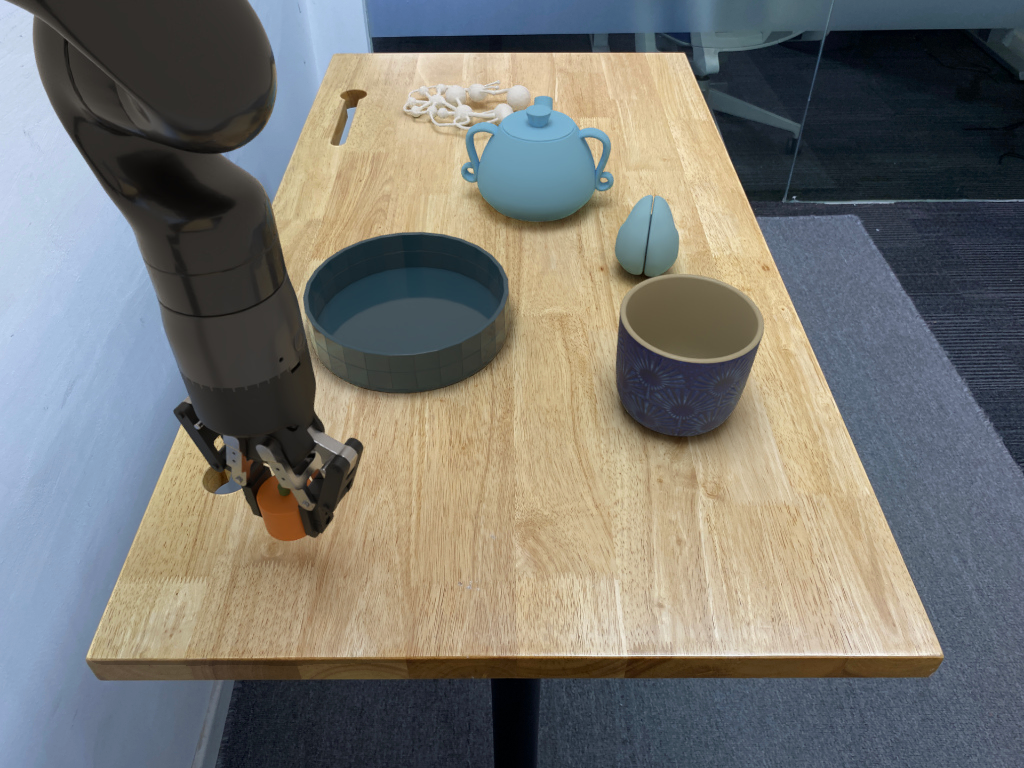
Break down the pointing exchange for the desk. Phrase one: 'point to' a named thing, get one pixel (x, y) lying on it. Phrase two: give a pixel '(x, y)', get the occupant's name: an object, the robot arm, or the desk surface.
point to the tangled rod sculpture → (456, 98)
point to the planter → (685, 352)
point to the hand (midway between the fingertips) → (292, 517)
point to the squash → (280, 511)
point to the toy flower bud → (648, 238)
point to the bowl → (407, 311)
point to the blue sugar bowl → (537, 164)
